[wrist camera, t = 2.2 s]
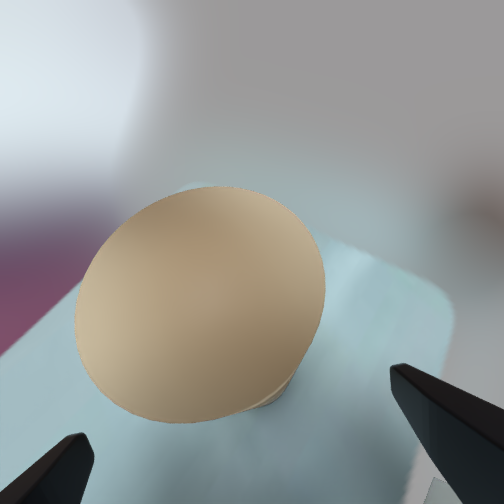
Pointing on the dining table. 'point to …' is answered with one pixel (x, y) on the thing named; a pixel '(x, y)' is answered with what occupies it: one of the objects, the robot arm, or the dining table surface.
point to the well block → (441, 493)
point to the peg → (200, 306)
